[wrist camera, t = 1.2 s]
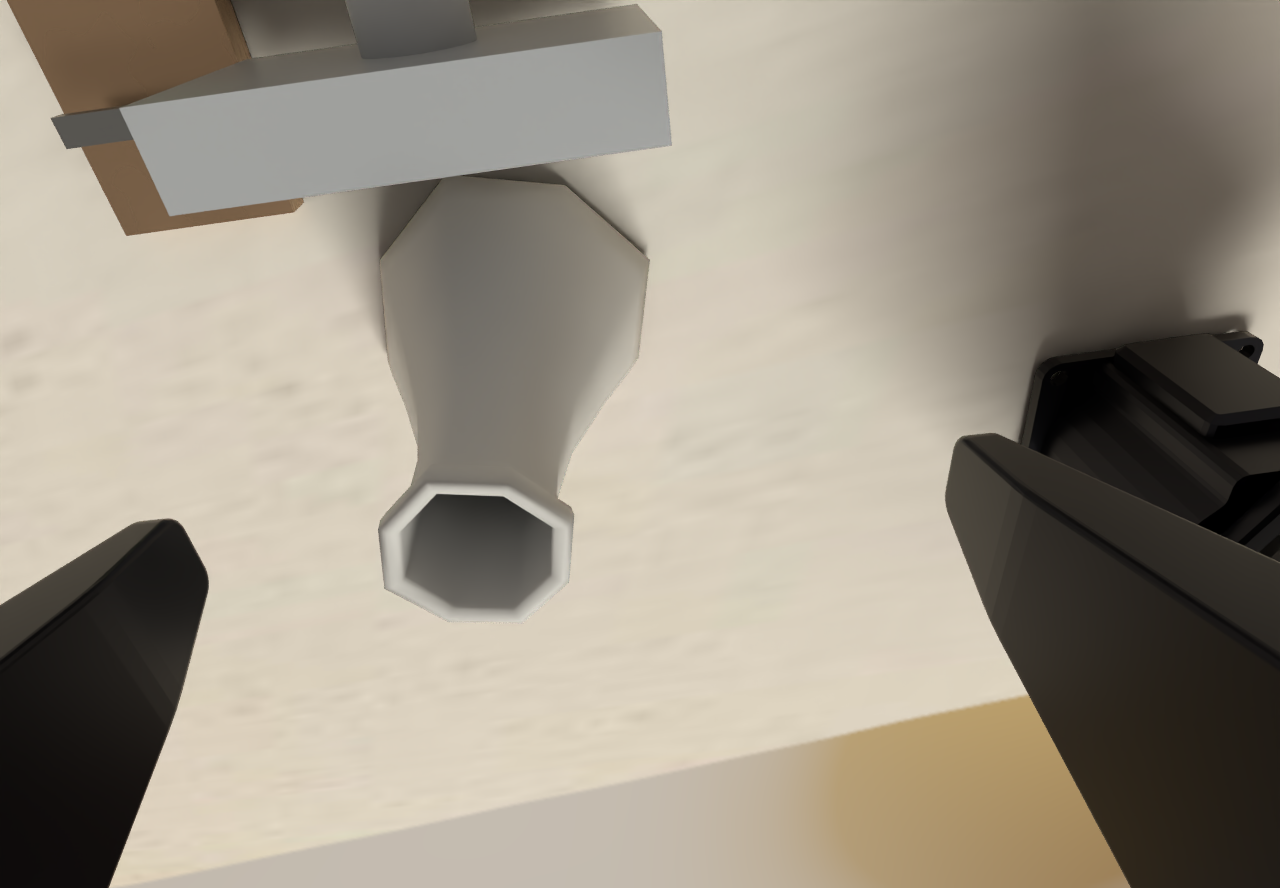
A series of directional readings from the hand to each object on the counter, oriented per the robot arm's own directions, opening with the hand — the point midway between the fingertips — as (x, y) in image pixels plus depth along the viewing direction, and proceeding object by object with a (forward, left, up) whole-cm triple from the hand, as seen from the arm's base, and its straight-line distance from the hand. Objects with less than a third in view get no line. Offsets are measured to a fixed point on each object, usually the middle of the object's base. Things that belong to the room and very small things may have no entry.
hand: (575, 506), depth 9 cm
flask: (-3, +2, -12) cm, 13 cm away
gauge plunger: (+5, +4, -11) cm, 12 cm away
